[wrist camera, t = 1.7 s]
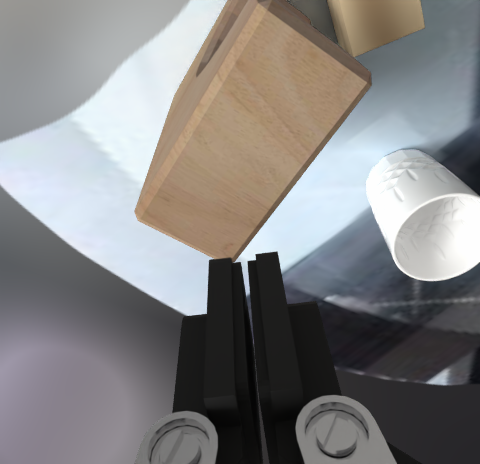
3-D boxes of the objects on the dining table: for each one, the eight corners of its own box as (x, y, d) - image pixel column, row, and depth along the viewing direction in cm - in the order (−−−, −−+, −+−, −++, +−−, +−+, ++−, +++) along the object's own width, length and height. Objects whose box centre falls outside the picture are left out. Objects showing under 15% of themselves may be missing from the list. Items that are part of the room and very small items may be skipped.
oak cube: (387, -53, 32) (411, -53, 28) (400, 18, 35) (425, 27, 31) (320, -23, 33) (334, -18, 29) (338, 44, 36) (353, 57, 32)
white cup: (421, 224, 45) (467, 288, 37) (347, 210, 44) (376, 272, 35) (458, 151, 41) (519, 204, 32) (377, 133, 40) (418, 184, 31)
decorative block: (245, -32, 33) (266, -9, 16) (306, 16, 35) (384, 83, 18) (170, 96, 38) (125, 218, 21) (227, 132, 39) (229, 272, 22)
